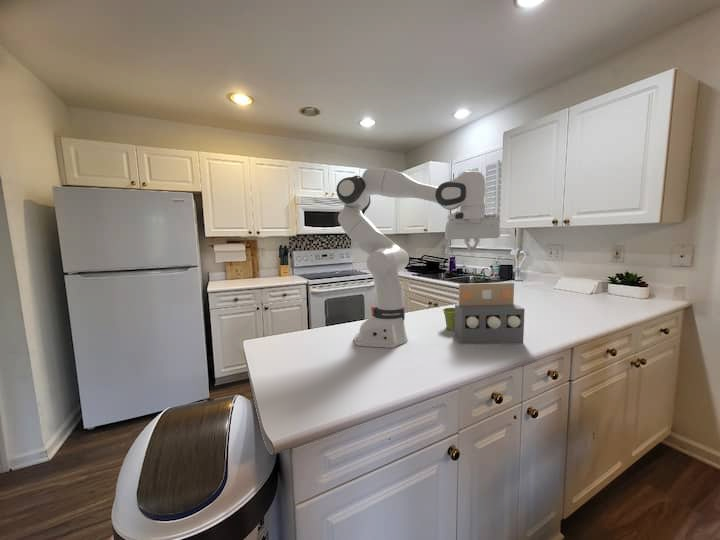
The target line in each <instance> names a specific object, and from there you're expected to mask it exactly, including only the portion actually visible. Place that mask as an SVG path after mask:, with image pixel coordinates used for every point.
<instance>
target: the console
mask: <svg viewBox="0 0 720 540" xmlns="http://www.w3.org/2000/svg"><path fill="white" fill-rule="evenodd" d="M514 295H515V283H514V282H496V283H495V282H490V283H489V282H488V283H487V282H486V283H485V282H484V283H482V282H479V283H459V284H458V303H455V304H454V308H455V330H454V337H456V340H458V341H459V343H460V344H461V345H493V344H494V345H495V344H499V345H501V344H502V345H505V344H509V345H511V344H524V336H525V335H524V334H525V332H524V331H525V308H524V307H522V306H520V305H517V304H516V303H514V298H515V296H514ZM468 315H473V316H474V317H476V318H477V319H478V321H479V324H478V326H477V327H475V328H470V327H469V326H468V325H467V324H466V323H465V317H466V316H468ZM490 315H493V316H495V317H497V318H498V319H499V320H500V321H501V325H500V327H499V328H497V329H493V328H491V327H490V326H489V325H487V323H486V318H487V317H488V316H490ZM507 315H515V316H516V317H518V318H519V319H520V325H519V326H518V327H511V326H510V325H508V324H507Z"/></svg>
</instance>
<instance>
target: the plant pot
mask: <svg viewBox="0 0 720 540" xmlns="http://www.w3.org/2000/svg"><path fill="white" fill-rule="evenodd" d="M442 312H443V314H444V319H445V325H446V329H448V330H450V331H451V330H452V331H455V307H446V308H443V309H442Z"/></svg>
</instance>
